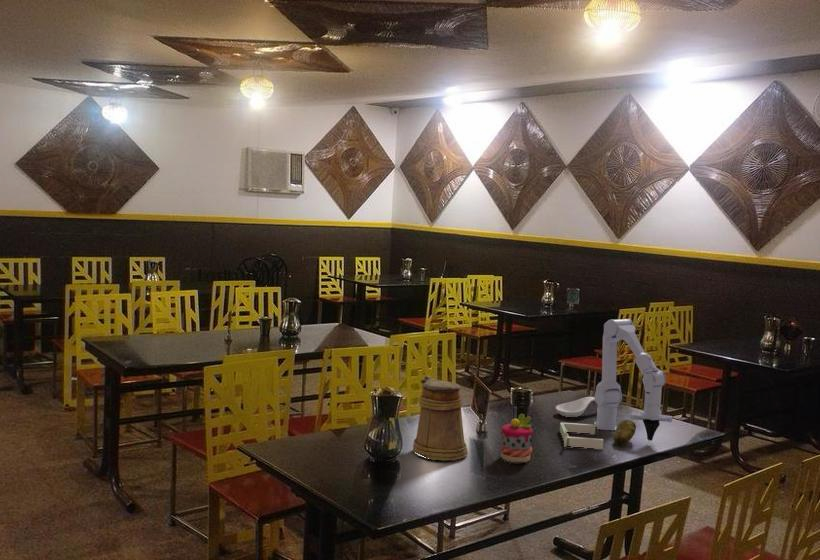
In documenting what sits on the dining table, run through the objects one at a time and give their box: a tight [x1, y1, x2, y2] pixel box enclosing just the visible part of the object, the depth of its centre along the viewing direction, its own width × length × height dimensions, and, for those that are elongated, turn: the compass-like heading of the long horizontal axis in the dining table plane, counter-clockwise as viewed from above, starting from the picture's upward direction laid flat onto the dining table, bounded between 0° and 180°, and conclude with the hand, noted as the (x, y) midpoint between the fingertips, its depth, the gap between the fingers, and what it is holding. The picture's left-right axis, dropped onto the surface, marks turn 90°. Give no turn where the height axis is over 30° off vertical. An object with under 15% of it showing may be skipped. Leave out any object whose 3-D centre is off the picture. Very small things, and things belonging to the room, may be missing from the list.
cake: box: [499, 413, 533, 462], centre depth 252 cm, size 10×11×15 cm
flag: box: [563, 430, 567, 448], centre depth 266 cm, size 3×1×7 cm, turn 175°
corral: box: [559, 422, 604, 450], centre depth 278 cm, size 19×13×4 cm
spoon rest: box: [555, 396, 595, 418], centre depth 313 cm, size 24×12×7 cm, turn 119°
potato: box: [612, 419, 637, 447], centre depth 276 cm, size 8×13×8 cm, turn 132°
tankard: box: [412, 374, 469, 461], centre depth 256 cm, size 18×24×25 cm
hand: (649, 439), depth 275 cm, fingers closed
